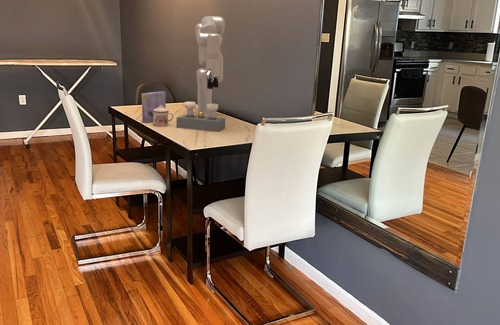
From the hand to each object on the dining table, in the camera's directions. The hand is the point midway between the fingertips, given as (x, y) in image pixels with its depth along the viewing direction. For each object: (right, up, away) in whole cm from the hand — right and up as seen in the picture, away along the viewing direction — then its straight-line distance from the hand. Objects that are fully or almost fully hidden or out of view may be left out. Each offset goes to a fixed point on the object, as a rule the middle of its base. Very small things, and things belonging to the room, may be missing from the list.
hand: (212, 87), depth 264 cm
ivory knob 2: (-1, -18, +5) cm, 18 cm away
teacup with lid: (-31, -21, +12) cm, 39 cm away
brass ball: (-7, -17, +7) cm, 19 cm away
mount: (-8, -22, +8) cm, 25 cm away
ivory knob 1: (-14, -16, +9) cm, 23 cm away
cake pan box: (-38, -17, +24) cm, 48 cm away
